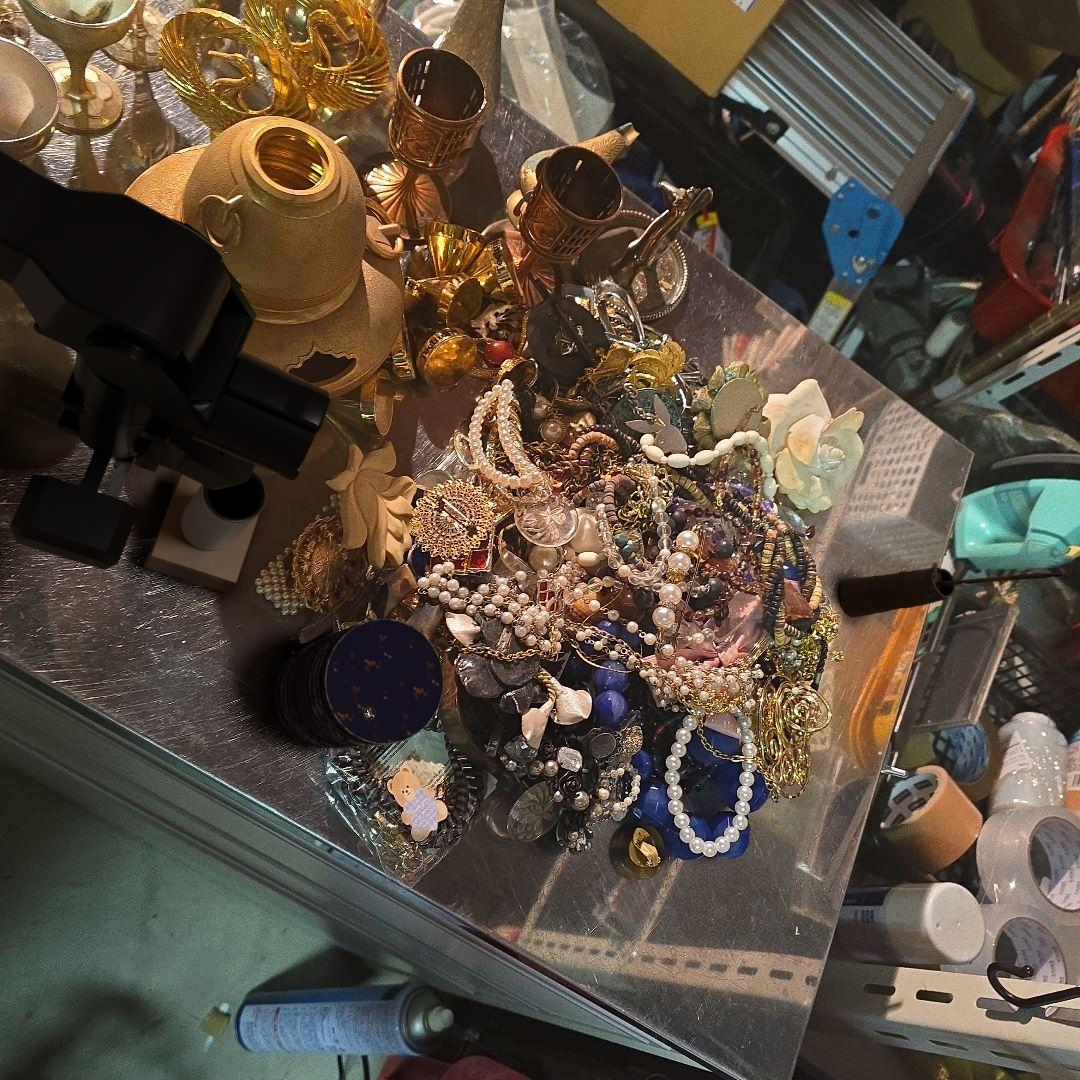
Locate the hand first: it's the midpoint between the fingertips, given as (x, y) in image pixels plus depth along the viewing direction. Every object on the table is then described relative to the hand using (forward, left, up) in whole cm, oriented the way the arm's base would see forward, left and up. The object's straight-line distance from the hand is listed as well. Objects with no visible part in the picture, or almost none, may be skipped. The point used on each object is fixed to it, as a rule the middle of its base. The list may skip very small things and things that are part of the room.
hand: (106, 457), depth 64 cm
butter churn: (+88, +21, -13) cm, 91 cm away
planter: (+9, 0, -8) cm, 12 cm away
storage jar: (+24, -10, -13) cm, 29 cm away
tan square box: (+9, 0, -13) cm, 16 cm away
